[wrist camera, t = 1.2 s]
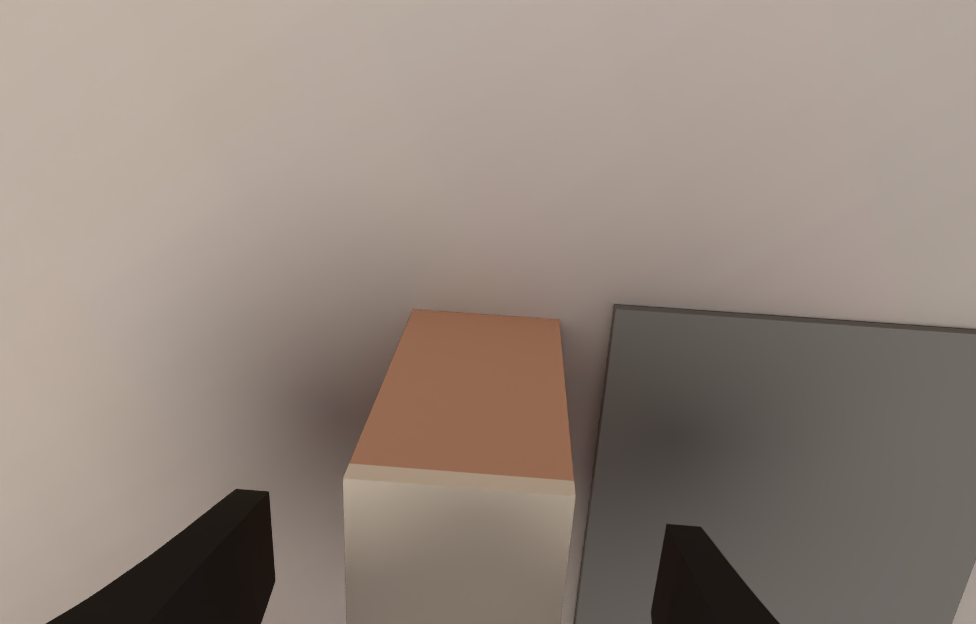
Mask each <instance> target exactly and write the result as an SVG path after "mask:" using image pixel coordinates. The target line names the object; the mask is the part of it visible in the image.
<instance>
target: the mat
mask: <svg viewBox="0 0 976 624" xmlns="http://www.w3.org/2000/svg"><path fill="white" fill-rule="evenodd" d="M666 524H675V525H687V526H699V527H702V529H703V530H704V531H705V532H706V533H707V535H708V536H709V537H710V538H711V540H712V541H713V542H714V544H715V545H716V546H717V547H718V549H719V550H720V551H721V553H722V554H723V555H724V556H725V558H726V559H727V560H728V562H729V563H730V564H731V565H732V567H733V568H734V569H735V570H736V572H737V573H738V574H739V575H740V577H741V578H742V579H743V580H744V582H745V583H746V584H747V585H748V587H749V588H750V589H751V590H752V591H753V593H754V594H755V595H756V596H757V597H758V599H759V600H760V601H761V602H762V603H763V604H764V606H765V607H766V608H767V609H768V610H769V612H770V613H771V614H772V615H773V616H774V617H775V619H776V620H777V621H778V622H779V623H780V624H952V622H953V619H954V616H955V614H956V611H957V608H958V606H959V603H960V600H961V598H962V595H963V592H964V590H965V587H966V585H967V582H968V579H969V577H970V574H971V571H972V569H973V566H974V563H975V561H976V330H972V329H958V328H944V327H929V326H915V325H901V324H886V323H872V322H858V321H843V320H829V319H815V318H800V317H786V316H772V315H757V314H743V313H729V312H714V311H700V310H686V309H671V308H657V307H643V306H628V305H614V312H613V320H612V328H611V336H610V344H609V351H608V359H607V367H606V375H605V383H604V391H603V399H602V407H601V414H600V422H599V430H598V438H597V446H596V454H595V462H594V470H593V478H592V485H591V493H590V501H589V509H588V517H587V525H586V533H585V541H584V549H583V556H582V564H581V572H580V580H579V588H578V596H577V604H576V612H575V619H574V624H652V620H651V608H652V602H653V597H654V591H655V585H656V580H657V574H658V569H659V563H660V557H661V552H662V546H663V540H664V535H665V529H666Z"/></svg>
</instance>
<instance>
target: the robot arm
mask: <svg viewBox="0 0 976 624" xmlns="http://www.w3.org/2000/svg"><path fill="white" fill-rule="evenodd" d="M274 583H275V569H274V555H273V541H272V527H271V513H270V499H269V492H267V491H255V490H242V489H236V490H234V491H233V492H232V493H230V494H229V495H227V496H226V497H225V498H224V499H222V500H221V501H220V502H218V503H217V504H216V505H215V506H213V507H212V508H211V509H210V510H208V511H207V512H206V513H205V514H203V515H202V516H201V517H199V518H198V519H197V520H196V521H194V522H193V523H192V524H191V525H189V526H188V527H187V528H185V529H184V530H183V531H182V532H180V533H179V534H178V535H176V536H175V537H174V538H172V539H171V540H170V541H169V542H167V543H166V544H165V545H163V546H162V547H161V548H159V549H158V550H157V551H155V552H154V553H153V554H151V555H150V556H149V557H147V558H146V559H144V560H143V561H142V562H140V563H139V564H137V565H136V566H134V567H133V568H132V569H130V570H129V571H127V572H126V573H124V574H123V575H121V576H120V577H119V578H117V579H116V580H114V581H113V582H111V583H110V584H109V585H107V586H106V587H104V588H103V589H101V590H100V591H98V592H97V593H95V594H94V595H92V596H91V597H89V598H88V599H86V600H84V601H83V602H81V603H80V604H78V605H76V606H75V607H73V608H72V609H70V610H68V611H67V612H65V613H63V614H61V615H60V616H58V617H56V618H55V619H53V620H51V621H49V622H48V623H46V624H261V622H262V619H263V616H264V613H265V611H266V608H267V605H268V601H269V598H270V595H271V592H272V589H273V586H274ZM651 620H652V624H780V623H779V622H778V621H777V620H776V619H775V617H774V616H773V615H772V614H771V613H770V612H769V610H768V609H767V608H766V607H765V606H764V604H763V603H762V602H761V601H760V600H759V599H758V597H757V596H756V595H755V594H754V593H753V591H752V590H751V589H750V588H749V587H748V585H747V584H746V583H745V582H744V580H743V579H742V578H741V577H740V575H739V574H738V573H737V572H736V570H735V569H734V568H733V567H732V565H731V564H730V563H729V562H728V560H727V559H726V558H725V556H724V555H723V554H722V553H721V551H720V550H719V549H718V547H717V546H716V545H715V544H714V542H713V541H712V540H711V538H710V537H709V536H708V535H707V533H706V532H705V531H704V530H703V529H702V527H699V526H687V525H675V524H666V529H665V535H664V540H663V546H662V552H661V557H660V563H659V569H658V574H657V580H656V585H655V591H654V597H653V602H652V608H651Z"/></svg>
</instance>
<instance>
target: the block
mask: <svg viewBox="0 0 976 624" xmlns="http://www.w3.org/2000/svg"><path fill="white" fill-rule="evenodd" d="M575 497H576V495H575V485H574V474H573V463H572V452H571V442H570V431H569V420H568V409H567V399H566V388H565V377H564V367H563V356H562V345H561V334H560V324H559V320H557V319H543V318H529V317H515V316H501V315H486V314H472V313H458V312H444V311H430V310H415V309H413V311H412V313H411V316H410V318H409V320H408V323H407V325H406V328H405V330H404V333H403V335H402V337H401V340H400V342H399V345H398V347H397V349H396V352H395V354H394V357H393V359H392V361H391V364H390V366H389V369H388V371H387V374H386V376H385V378H384V381H383V383H382V386H381V388H380V390H379V393H378V395H377V398H376V400H375V402H374V405H373V407H372V410H371V412H370V415H369V417H368V419H367V422H366V424H365V427H364V429H363V431H362V434H361V436H360V439H359V441H358V443H357V446H356V448H355V451H354V453H353V455H352V458H351V460H350V463H349V465H348V468H347V470H346V472H345V475H344V477H343V498H344V540H345V581H346V623H347V624H561V616H562V608H563V599H564V591H565V582H566V574H567V565H568V557H569V548H570V540H571V531H572V523H573V514H574V506H575Z"/></svg>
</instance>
